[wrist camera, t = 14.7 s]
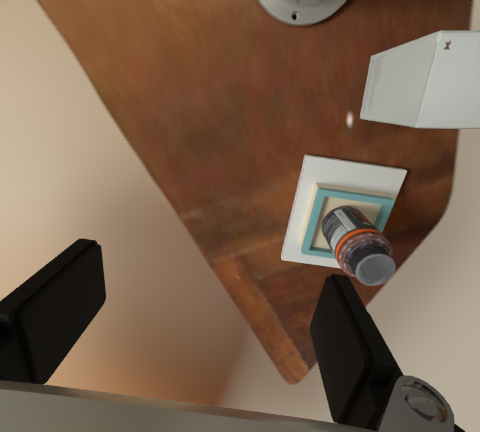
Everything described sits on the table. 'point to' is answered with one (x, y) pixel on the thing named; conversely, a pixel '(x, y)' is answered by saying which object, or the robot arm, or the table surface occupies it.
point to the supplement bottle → (358, 246)
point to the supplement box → (426, 83)
